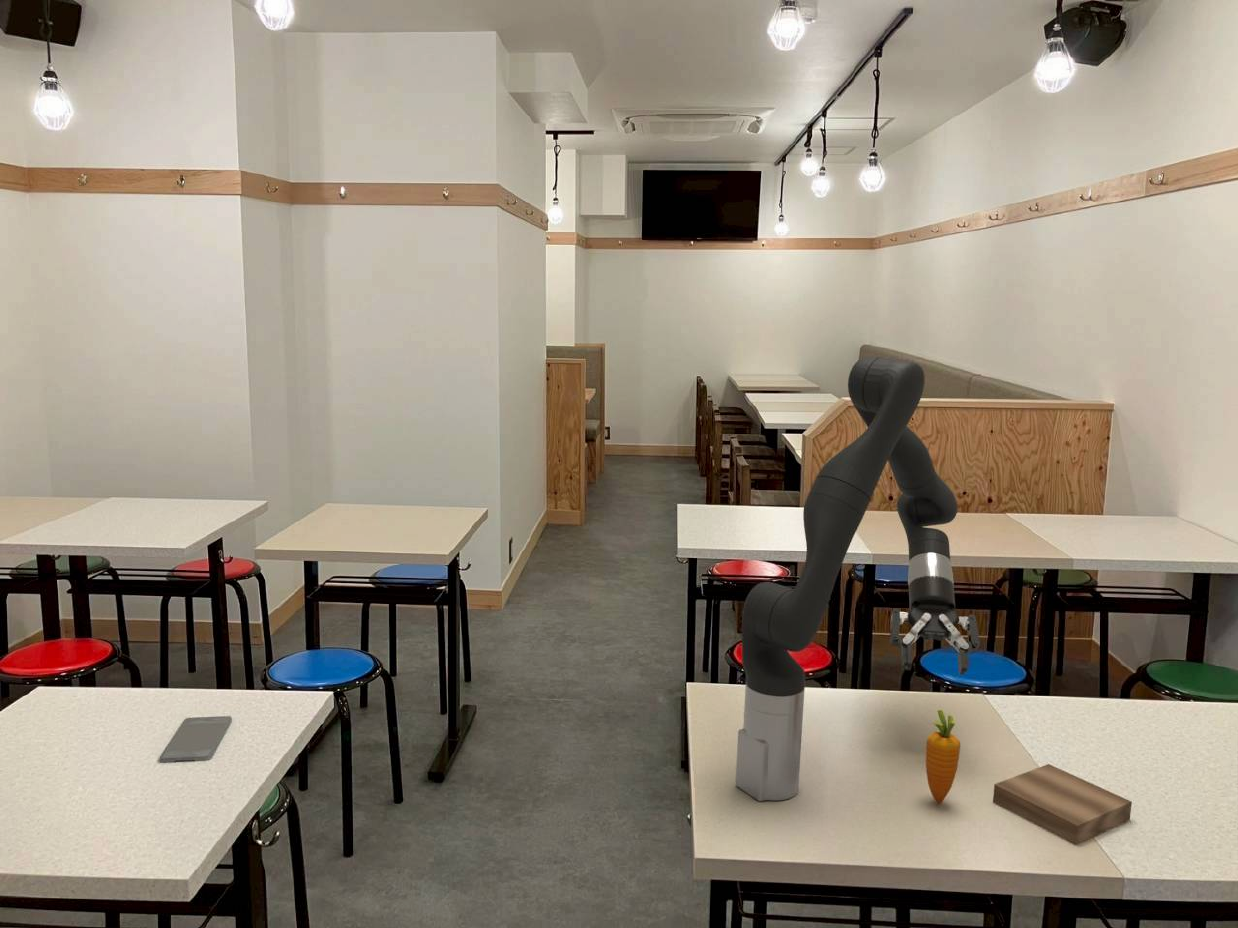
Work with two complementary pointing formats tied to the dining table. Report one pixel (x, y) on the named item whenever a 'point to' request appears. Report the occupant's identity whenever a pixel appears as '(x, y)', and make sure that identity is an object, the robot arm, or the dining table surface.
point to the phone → (196, 739)
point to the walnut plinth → (1062, 803)
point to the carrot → (942, 758)
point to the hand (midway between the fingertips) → (935, 670)
